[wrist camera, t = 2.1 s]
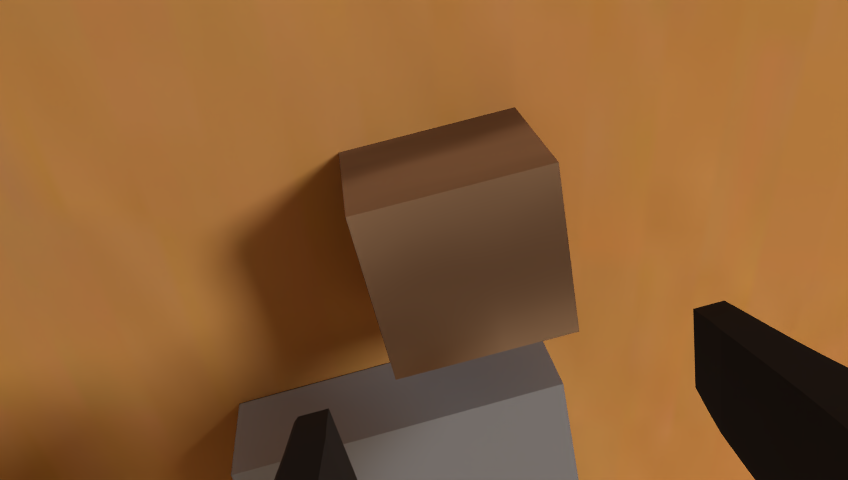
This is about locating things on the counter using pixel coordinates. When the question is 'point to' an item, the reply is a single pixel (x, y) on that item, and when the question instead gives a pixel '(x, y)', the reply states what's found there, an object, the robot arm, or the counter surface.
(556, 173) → the walnut block
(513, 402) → the slate base block
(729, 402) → the robot arm
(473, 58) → the counter surface
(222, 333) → the counter surface
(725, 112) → the counter surface
